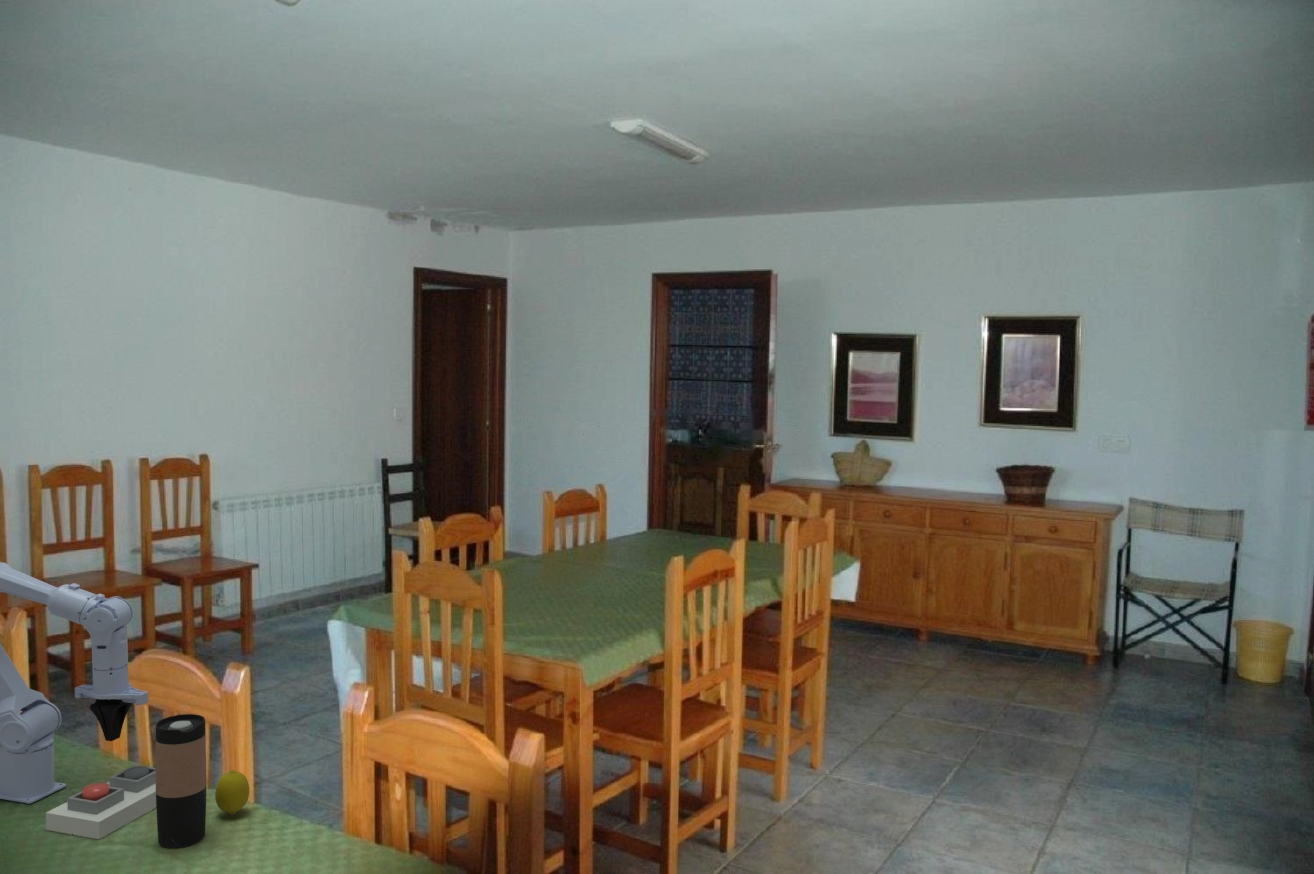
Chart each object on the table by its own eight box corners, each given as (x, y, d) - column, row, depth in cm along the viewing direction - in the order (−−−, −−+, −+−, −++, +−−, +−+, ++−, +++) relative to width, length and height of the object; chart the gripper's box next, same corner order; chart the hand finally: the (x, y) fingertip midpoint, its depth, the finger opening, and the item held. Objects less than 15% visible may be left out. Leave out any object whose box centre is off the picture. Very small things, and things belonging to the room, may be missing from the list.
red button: (77, 801, 169) (76, 790, 169) (96, 792, 173) (95, 781, 173) (96, 805, 168) (96, 793, 168) (114, 795, 172) (114, 784, 172)
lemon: (254, 807, 178) (253, 764, 177) (242, 821, 172) (242, 776, 172) (222, 807, 178) (222, 763, 177) (210, 821, 172) (209, 776, 172)
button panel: (46, 829, 168) (45, 801, 167) (132, 784, 186) (132, 758, 186) (99, 839, 165) (98, 810, 165) (182, 792, 183) (181, 766, 183)
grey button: (118, 784, 178) (118, 773, 178) (135, 775, 182) (135, 764, 182) (137, 787, 177) (136, 776, 177) (153, 778, 181) (153, 767, 181)
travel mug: (171, 826, 170) (169, 712, 168) (215, 828, 170) (214, 714, 168) (146, 848, 162) (145, 729, 161) (193, 850, 162) (191, 730, 161)
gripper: (160, 663, 182) (162, 735, 183) (95, 656, 186) (98, 727, 187) (130, 674, 175) (132, 749, 176) (64, 667, 179) (66, 740, 180)
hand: (112, 738), depth 181 cm, fingers closed
